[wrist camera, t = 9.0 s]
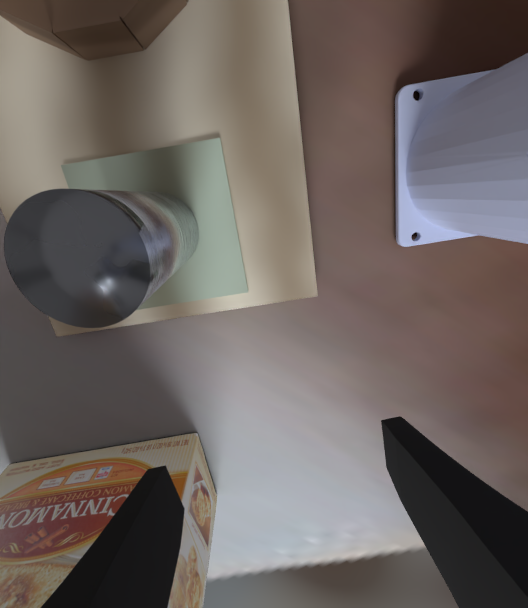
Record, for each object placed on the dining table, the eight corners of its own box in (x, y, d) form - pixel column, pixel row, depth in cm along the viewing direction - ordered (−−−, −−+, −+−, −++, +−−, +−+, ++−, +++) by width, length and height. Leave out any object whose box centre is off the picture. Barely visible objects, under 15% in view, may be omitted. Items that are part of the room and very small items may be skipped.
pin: (189, 186, 15) (126, 177, 8) (206, 262, 17) (165, 318, 9) (113, 198, 15) (-23, 201, 8) (135, 273, 17) (38, 336, 9)
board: (248, -348, 11) (245, -591, 7) (314, 291, 19) (326, 311, 16) (-180, -255, 11) (-364, -445, 8) (66, 330, 19) (27, 357, 16)
